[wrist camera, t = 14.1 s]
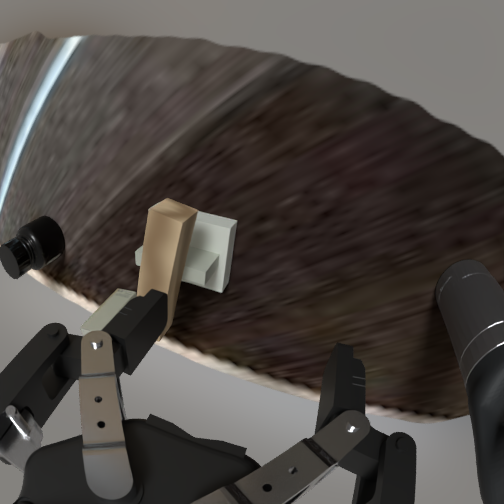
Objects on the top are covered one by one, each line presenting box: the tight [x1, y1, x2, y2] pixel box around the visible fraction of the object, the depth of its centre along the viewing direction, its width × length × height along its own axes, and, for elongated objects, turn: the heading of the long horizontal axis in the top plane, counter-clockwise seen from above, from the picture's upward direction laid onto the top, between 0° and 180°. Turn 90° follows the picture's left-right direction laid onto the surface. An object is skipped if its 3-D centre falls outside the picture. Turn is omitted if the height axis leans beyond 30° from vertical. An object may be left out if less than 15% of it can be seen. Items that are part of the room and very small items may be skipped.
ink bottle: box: [0, 216, 64, 279], centre depth 49 cm, size 10×9×12 cm
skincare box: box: [80, 289, 137, 336], centre depth 50 cm, size 6×4×12 cm
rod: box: [137, 198, 198, 341], centre depth 38 cm, size 4×18×4 cm, turn 162°
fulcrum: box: [135, 202, 237, 293], centre depth 43 cm, size 12×10×8 cm
